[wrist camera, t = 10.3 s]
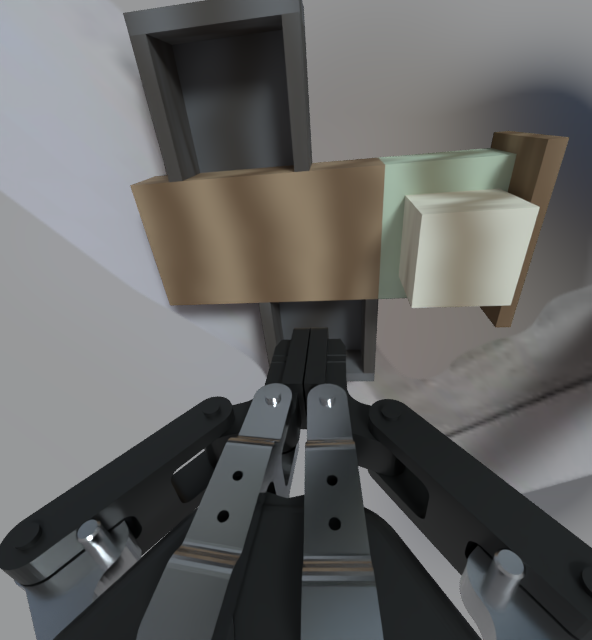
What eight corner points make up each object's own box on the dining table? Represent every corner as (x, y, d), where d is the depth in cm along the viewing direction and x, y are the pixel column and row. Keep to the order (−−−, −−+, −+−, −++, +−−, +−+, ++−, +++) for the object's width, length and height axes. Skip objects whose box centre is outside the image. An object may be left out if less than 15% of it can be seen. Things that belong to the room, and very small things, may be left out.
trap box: (544, -29, 19) (640, -92, 13) (459, 354, 34) (485, 405, 28) (113, 34, 22) (35, 6, 16) (208, 356, 37) (184, 403, 31)
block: (499, 188, 22) (539, 207, 17) (480, 272, 25) (510, 305, 20) (405, 195, 22) (422, 214, 18) (398, 275, 25) (411, 308, 21)
